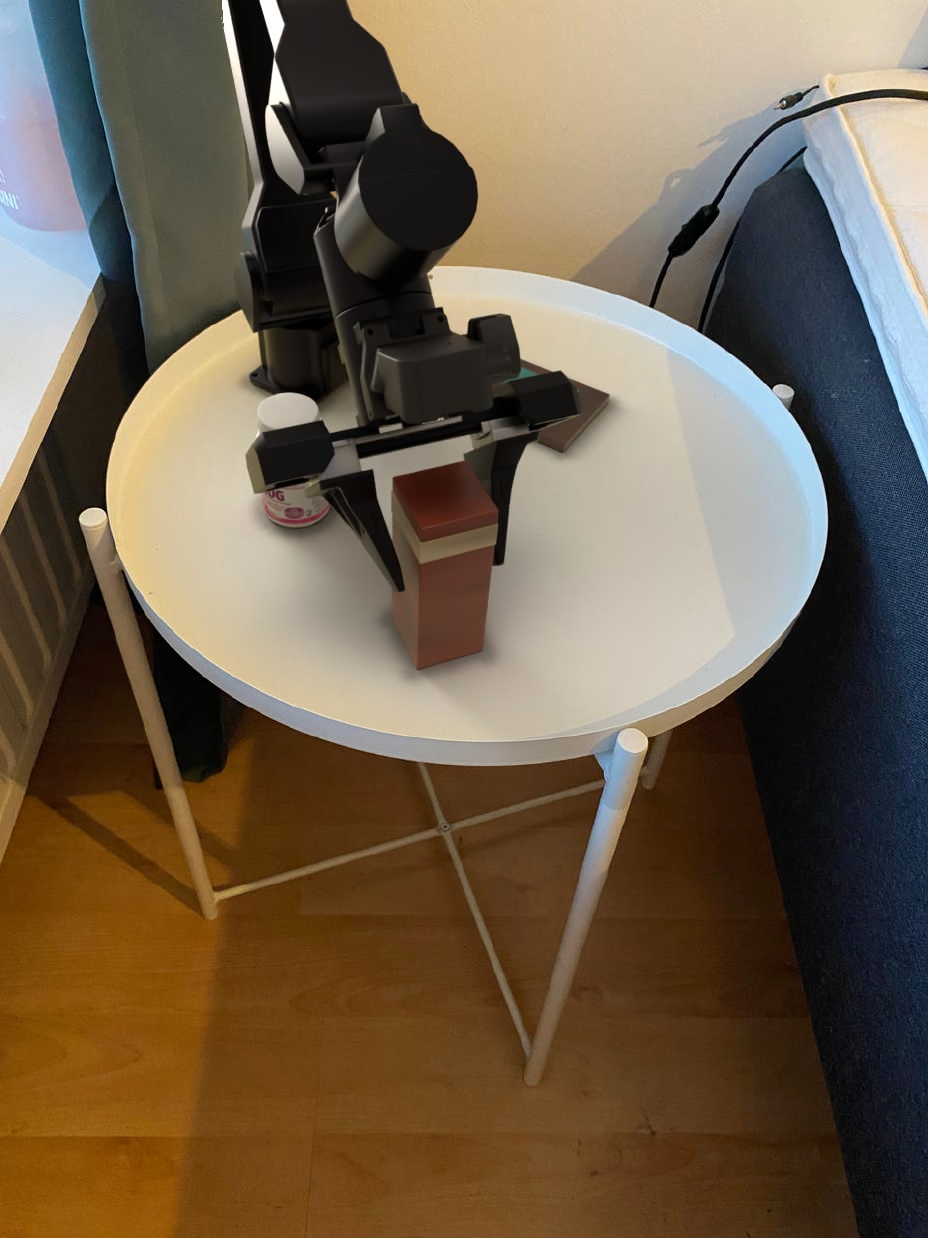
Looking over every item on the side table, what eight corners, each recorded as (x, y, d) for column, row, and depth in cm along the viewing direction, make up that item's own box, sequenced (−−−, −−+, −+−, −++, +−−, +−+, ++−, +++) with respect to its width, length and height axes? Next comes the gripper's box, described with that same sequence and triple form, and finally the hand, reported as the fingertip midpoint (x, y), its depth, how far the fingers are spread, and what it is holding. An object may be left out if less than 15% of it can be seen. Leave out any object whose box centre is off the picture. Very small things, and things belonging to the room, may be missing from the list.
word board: (372, 371, 81) (372, 349, 79) (425, 328, 85) (426, 307, 84) (563, 452, 75) (566, 430, 73) (608, 402, 80) (613, 380, 78)
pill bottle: (251, 518, 68) (236, 421, 62) (282, 477, 71) (271, 381, 65) (312, 537, 67) (304, 440, 61) (341, 495, 70) (336, 398, 64)
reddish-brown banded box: (390, 618, 63) (390, 476, 54) (456, 600, 64) (466, 458, 55) (416, 671, 60) (421, 530, 51) (484, 651, 61) (500, 510, 52)
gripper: (232, 295, 44) (320, 626, 46) (593, 236, 50) (658, 533, 52) (214, 351, 55) (286, 618, 56) (513, 297, 60) (570, 542, 62)
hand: (450, 578), depth 56 cm, fingers open, 6 cm apart
